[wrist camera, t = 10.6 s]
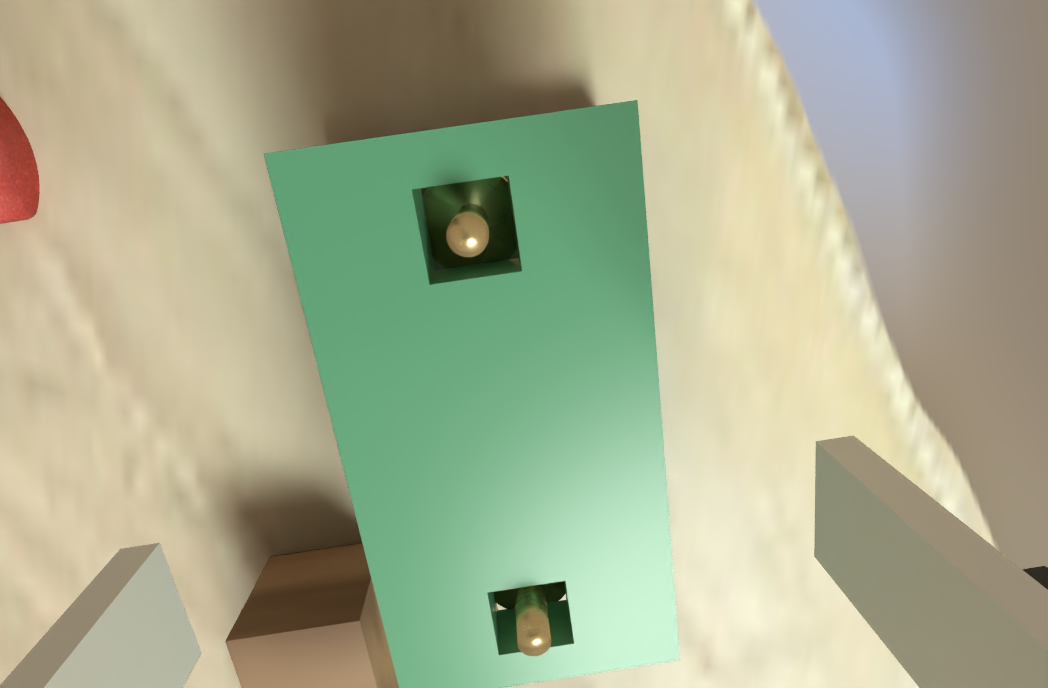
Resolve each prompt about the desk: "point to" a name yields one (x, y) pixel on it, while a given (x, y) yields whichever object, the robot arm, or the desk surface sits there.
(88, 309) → the desk surface
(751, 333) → the desk surface
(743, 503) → the desk surface
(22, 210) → the colourful wooden toy set
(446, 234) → the chassis
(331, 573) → the stand
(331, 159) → the board
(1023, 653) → the robot arm
